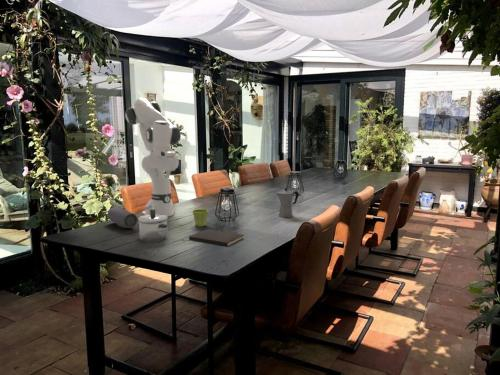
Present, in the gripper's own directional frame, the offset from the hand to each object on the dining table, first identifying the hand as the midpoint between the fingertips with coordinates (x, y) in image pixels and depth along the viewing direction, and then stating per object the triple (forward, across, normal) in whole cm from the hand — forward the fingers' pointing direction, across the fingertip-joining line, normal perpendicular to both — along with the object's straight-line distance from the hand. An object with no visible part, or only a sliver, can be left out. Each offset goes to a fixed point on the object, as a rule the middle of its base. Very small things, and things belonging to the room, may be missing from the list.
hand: (161, 177), depth 218 cm
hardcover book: (+29, +34, +10) cm, 45 cm away
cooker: (+29, +9, -11) cm, 33 cm away
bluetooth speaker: (+31, -24, -10) cm, 41 cm away
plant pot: (+30, +7, +22) cm, 37 cm away
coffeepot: (+29, +28, +76) cm, 86 cm away
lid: (+19, +8, -11) cm, 24 cm away
